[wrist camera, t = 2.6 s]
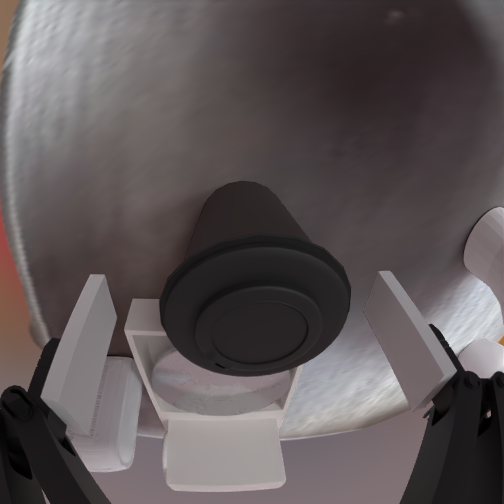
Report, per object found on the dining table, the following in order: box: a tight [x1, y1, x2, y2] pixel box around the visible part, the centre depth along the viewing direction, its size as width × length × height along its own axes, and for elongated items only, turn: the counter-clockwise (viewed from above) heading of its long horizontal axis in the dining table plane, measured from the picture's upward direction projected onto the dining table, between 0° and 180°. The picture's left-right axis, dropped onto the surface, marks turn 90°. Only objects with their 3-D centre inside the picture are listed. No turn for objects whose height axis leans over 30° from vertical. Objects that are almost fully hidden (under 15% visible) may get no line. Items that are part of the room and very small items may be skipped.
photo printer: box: [66, 356, 143, 472], centre depth 22 cm, size 10×4×12 cm, turn 95°
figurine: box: [458, 337, 504, 378], centre depth 30 cm, size 7×8×12 cm
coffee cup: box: [159, 181, 351, 377], centre depth 15 cm, size 8×8×10 cm
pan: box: [152, 345, 290, 416], centre depth 25 cm, size 12×12×3 cm
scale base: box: [124, 298, 305, 492], centre depth 24 cm, size 21×14×11 cm
